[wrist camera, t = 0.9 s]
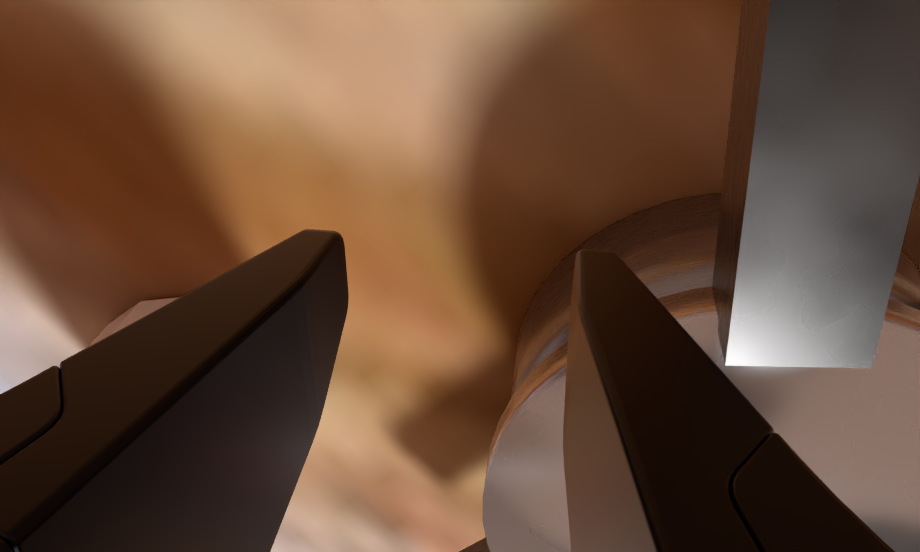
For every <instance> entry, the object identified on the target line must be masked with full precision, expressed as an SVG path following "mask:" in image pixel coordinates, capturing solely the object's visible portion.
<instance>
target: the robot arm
mask: <svg viewBox="0 0 920 552" xmlns="http://www.w3.org/2000/svg"><path fill="white" fill-rule="evenodd" d="M347 309H348V283H347V271H346V259H345V247H344V241H343V238H342V236H341V234H340V233H338V232H336V231H327V230H313V229H306V230H303V231H301V232H299V233H297V234H295V235H293V236H291V237H290V238H288V239H286V240H284V241H282V242H280V243H279V244H277V245H275V246H273V247H271V248H269V249H268V250H266V251H264V252H262V253H260V254H258V255H257V256H255V257H253V258H251V259H249V260H247V261H246V262H244V263H242V264H240V265H238V266H236V267H235V268H233V269H231V270H229V271H227V272H225V273H224V274H222V275H220V276H218V277H216V278H214V279H213V280H211V281H209V282H207V283H205V284H203V285H202V286H200V287H198V288H196V289H194V290H192V291H190V292H189V293H187V294H185V295H183V296H181V297H179V298H178V299H176V300H174V301H172V302H170V303H168V304H167V305H165V306H163V307H161V308H159V309H157V310H156V311H154V312H152V313H150V314H148V315H146V316H145V317H143V318H141V319H139V320H137V321H135V322H134V323H132V324H130V325H128V326H126V327H124V328H122V329H121V330H119V331H117V332H115V333H113V334H111V335H110V336H108V337H106V338H104V339H102V340H100V341H99V342H97V343H95V344H93V345H91V346H89V347H88V348H86V349H84V350H82V351H80V352H78V353H77V354H75V355H73V356H71V357H69V358H67V359H65V360H64V361H62V362H61V363H60V369H59V367H57V366H52V367H50V368H49V369H47V370H45V371H43V372H41V373H40V374H38V375H36V376H34V377H32V378H30V379H29V380H27V381H25V382H23V383H21V384H19V385H17V386H16V387H14V388H12V389H10V390H8V391H6V392H4V393H2V394H0V552H270V551H271V548H272V545H273V543H274V540H275V538H276V535H277V533H278V530H279V527H280V525H281V522H282V520H283V517H284V515H285V512H286V509H287V507H288V504H289V502H290V499H291V497H292V494H293V492H294V489H295V486H296V484H297V481H298V479H299V476H300V474H301V471H302V468H303V466H304V463H305V461H306V458H307V456H308V453H309V450H310V448H311V445H312V443H313V440H314V437H315V434H316V431H317V428H318V426H319V422H320V419H321V415H322V411H323V408H324V404H325V400H326V396H327V392H328V388H329V384H330V380H331V375H332V371H333V367H334V363H335V359H336V355H337V351H338V347H339V343H340V339H341V335H342V331H343V327H344V323H345V319H346V315H347ZM563 456H564V472H565V484H566V495H567V507H568V519H569V530H570V542H571V552H895V551H894V550H893V549H892V548H891V547H890V546H889V545H888V544H886V543H885V542H884V541H883V540H882V539H881V538H880V537H879V536H878V535H877V534H876V533H875V532H874V531H873V530H872V529H871V528H870V527H869V526H867V525H866V524H865V523H864V522H863V521H862V520H861V519H860V518H859V517H858V516H857V515H856V514H855V513H854V512H853V511H852V510H851V509H850V508H849V507H847V506H846V505H845V504H844V503H843V502H842V501H841V500H840V499H839V498H838V497H837V496H836V495H835V494H834V493H833V492H832V491H831V490H830V489H829V487H828V486H827V485H826V484H825V483H824V482H823V481H822V480H821V479H820V478H819V477H818V476H817V475H816V474H815V473H814V472H813V471H812V470H811V469H810V468H809V466H808V465H807V464H806V463H805V462H804V461H803V460H802V459H801V458H800V457H799V456H798V455H797V454H796V452H795V451H794V450H793V449H792V448H791V447H790V446H789V445H788V444H787V442H786V441H785V440H784V439H783V438H782V437H781V436H780V435H779V434H778V433H774V429H773V427H772V426H771V425H770V424H769V423H768V422H767V421H766V419H765V418H764V417H763V416H762V415H761V414H760V413H759V412H758V411H757V409H756V408H755V407H754V406H753V405H752V404H751V403H750V402H749V400H748V399H747V398H746V397H745V396H744V395H743V394H742V393H741V392H740V390H739V389H738V388H737V387H736V386H735V385H734V384H733V383H732V382H731V380H730V379H729V378H728V377H727V376H726V375H725V374H724V373H723V371H722V370H721V369H720V368H719V367H718V366H717V365H716V364H715V363H714V361H713V360H712V359H711V358H710V357H709V356H708V355H707V354H706V353H705V351H704V350H703V349H702V348H701V347H700V346H699V345H698V344H697V342H696V341H695V340H694V339H693V338H692V337H691V336H690V335H689V334H688V332H687V331H686V330H685V329H684V328H683V327H682V326H681V325H680V324H679V322H678V321H677V320H676V319H675V318H674V317H673V316H672V315H671V313H670V312H669V311H668V310H667V309H666V308H665V307H664V306H663V305H662V303H661V302H660V301H659V300H658V299H657V298H656V297H655V296H654V295H653V293H652V292H651V291H650V290H649V289H648V288H647V287H646V286H645V284H644V283H643V282H642V281H641V280H640V279H639V278H638V277H637V276H636V274H635V273H634V272H633V271H632V270H631V269H630V268H629V267H628V265H627V264H626V263H625V262H624V261H623V260H622V259H621V258H620V257H619V255H618V254H616V253H615V252H612V251H603V250H589V249H582V250H580V251H578V252H577V254H576V258H575V266H574V276H573V286H572V296H571V306H570V317H569V330H568V348H567V367H566V386H565V405H564V424H563Z"/></svg>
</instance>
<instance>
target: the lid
mask: <svg viewBox="0 0 920 552" xmlns="http://www.w3.org/2000/svg"><path fill="white" fill-rule="evenodd" d="M919 176H920V0H742V8H741V18H740V27H739V36H738V46H737V55H736V65H735V74H734V84H733V93H732V102H731V112H730V121H729V131H728V140H727V150H726V159H725V168H724V178H723V187H722V197H721V206H720V216H719V225H718V234H717V244H716V253H715V263H714V272H713V282H712V286H710V287H703V288H696V289H691V290H687V291H684V292H680V293H676V294H672V295H668V296H664V297H660V298H657V299H658V300H659V301H660V302H661V303H662V305H663V306H664V307H665V308H666V309H667V310H668V311H669V312H670V313H671V315H672V316H673V317H674V318H675V319H676V320H677V321H678V322H679V324H680V325H681V326H682V327H683V328H684V329H685V330H686V331H687V332H688V334H689V335H690V336H691V337H692V338H693V339H694V340H695V341H696V342H697V344H698V345H699V346H700V347H701V348H702V349H703V350H704V351H705V353H706V354H707V355H708V356H709V357H710V358H711V359H712V360H713V361H714V363H715V364H716V365H717V366H718V367H719V368H720V369H721V370H722V371H723V373H724V374H725V375H726V376H727V377H728V378H729V379H730V380H731V382H732V383H733V384H734V385H735V386H736V387H737V388H738V389H739V390H740V392H741V393H742V394H743V395H744V396H745V397H746V398H747V399H748V400H749V402H750V403H751V404H752V405H753V406H754V407H755V408H756V409H757V411H758V412H759V413H760V414H761V415H762V416H763V417H764V418H765V419H766V421H767V422H768V423H769V424H770V425H771V426H772V427H773V429H774V433H778V434H779V435H780V436H781V437H782V438H783V439H784V440H785V441H786V442H787V444H788V445H789V446H790V447H791V448H792V449H793V450H794V451H795V452H796V454H797V455H798V456H799V457H800V458H801V459H802V460H803V461H804V462H805V463H806V464H807V465H808V466H809V468H810V469H811V470H812V471H813V472H814V473H815V474H816V475H817V476H818V477H819V478H820V479H821V480H822V481H823V482H824V483H825V484H826V485H827V486H828V487H829V489H830V490H831V491H832V492H833V493H834V494H835V495H836V496H837V497H838V498H839V499H840V500H841V501H842V502H843V503H844V504H845V505H846V506H847V507H849V508H850V509H851V510H852V511H853V512H854V513H855V514H856V515H857V516H858V517H859V518H860V519H861V520H862V521H863V522H864V523H865V524H866V525H867V526H869V527H870V528H871V529H872V530H873V531H874V532H875V533H876V534H877V535H878V536H879V537H880V538H881V539H882V540H883V541H884V542H885V543H886V544H888V545H889V546H890V547H891V548H892V549H893V550H894V551H895V552H920V310H918V309H915V308H913V307H911V306H908V305H906V304H904V303H901V302H899V301H896V300H893V299H889V297H890V293H891V289H892V285H893V281H894V277H895V273H896V269H897V265H898V261H899V257H900V253H901V249H902V245H903V241H904V237H905V233H906V229H907V225H908V220H909V216H910V212H911V208H912V204H913V200H914V196H915V192H916V188H917V184H918V180H919ZM567 348H568V342H566V343H565V344H563V345H562V346H560V347H559V348H558V349H556V350H555V351H554V352H553V353H552V354H551V355H550V356H549V357H547V358H546V359H545V360H544V361H543V362H542V363H541V364H540V365H538V366H537V367H536V368H535V369H534V370H533V371H532V372H531V374H530V375H529V376H528V377H527V378H526V380H525V381H524V382H523V383H522V384H521V386H520V387H519V388H518V389H517V390H516V391H515V393H514V395H513V396H512V398H511V400H510V401H509V403H508V405H507V406H506V408H505V410H504V411H503V413H502V415H501V417H500V420H499V422H498V425H497V427H496V430H495V432H494V435H493V438H492V442H491V447H490V452H489V458H488V463H487V471H486V478H485V486H484V493H483V524H484V530H485V535H486V540H487V544H488V547H489V550H490V552H571V542H570V530H569V519H568V507H567V495H566V484H565V472H564V456H563V424H564V405H565V386H566V367H567Z"/></svg>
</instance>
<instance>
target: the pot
mask: <svg viewBox="0 0 920 552" xmlns="http://www.w3.org/2000/svg"><path fill="white" fill-rule="evenodd" d="M721 197H722V193H720V194H710V195H701V196H695V197H690V198H685V199H681V200H676V201H671V202H667V203H664V204H661V205H658V206H655V207H652V208H649V209H646V210H643V211H640V212H637V213H635V214H633V215H631V216H629V217H627V218H625V219H622V220H620V221H618V222H616V223H614V224H612V225H610V226H608V227H607V228H605V229H604V230H602V231H600V232H599V233H597V234H596V235H594V236H592V237H591V238H589V239H588V240H586V241H585V242H584V243H583V244H581V245H580V246H579V247H578V248H576V249H575V250H574V251H573V252H571V253H570V254H569V255H568V256H567V257H566V258H565V259H564V260H563V261H562V262H561V263H560V264H559V265H558V266H557V267H556V268H555V269H554V270H553V271H552V272H551V273H550V275H549V276H548V277H547V279H546V280H545V281H544V283H543V284H542V286H541V287H540V289H539V290H538V291H537V293H536V294H535V296H534V298H533V300H532V302H531V304H530V306H529V308H528V310H527V312H526V314H525V317H524V320H523V323H522V326H521V329H520V332H519V336H518V343H517V350H516V358H515V367H514V376H513V384H512V393H511V398H512V396H513V395H514V393H515V391H516V390H517V389H518V388H519V387H520V386H521V384H522V383H523V382H524V381H525V380H526V378H527V377H528V376H529V375H530V374H531V372H532V371H533V370H534V369H535V368H536V367H537V366H538V365H540V364H541V363H542V362H543V361H544V360H545V359H546V358H547V357H549V356H550V355H551V354H552V353H553V352H554V351H555V350H556V349H558V348H559V347H560V346H562V345H563V344H565V343H566V342H568V330H569V317H570V306H571V296H572V286H573V276H574V266H575V258H576V254H577V252H578V251H580V250H582V249H589V250H603V251H612V252H615V253H616V254H618V255H619V257H620V258H621V259H622V260H623V261H624V262H625V263H626V264H627V265H628V267H629V268H630V269H631V270H632V271H633V272H634V273H635V274H636V276H637V277H638V278H639V279H640V280H641V281H642V282H643V283H644V284H645V286H646V287H647V288H648V289H649V290H650V291H651V292H652V293H653V295H654V296H655V297H656V298H660V297H664V296H668V295H672V294H676V293H680V292H684V291H687V290H691V289H696V288H703V287H710V286H712V282H713V272H714V263H715V253H716V244H717V234H718V225H719V216H720V206H721ZM889 299H893V300H896V301H899V302H901V303H904V304H906V305H908V306H911V307H913V308H915V309H918V310H920V272H919V271H918V269H917V268H916V266H915V265H914V263H913V262H912V261H911V260H910V259H909V258H908V257H907V256H906V255H905V254H904V253H903V252H902V251H901V253H900V257H899V261H898V265H897V269H896V273H895V277H894V281H893V285H892V289H891V293H890V297H889ZM460 552H490V550H489V547H488V544H487V540H486V538H484V539H482V540H480V541H478V542H476V543H475V544H473V545H471V546H469V547H467V548H465V549H463V550H461V551H460Z"/></svg>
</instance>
